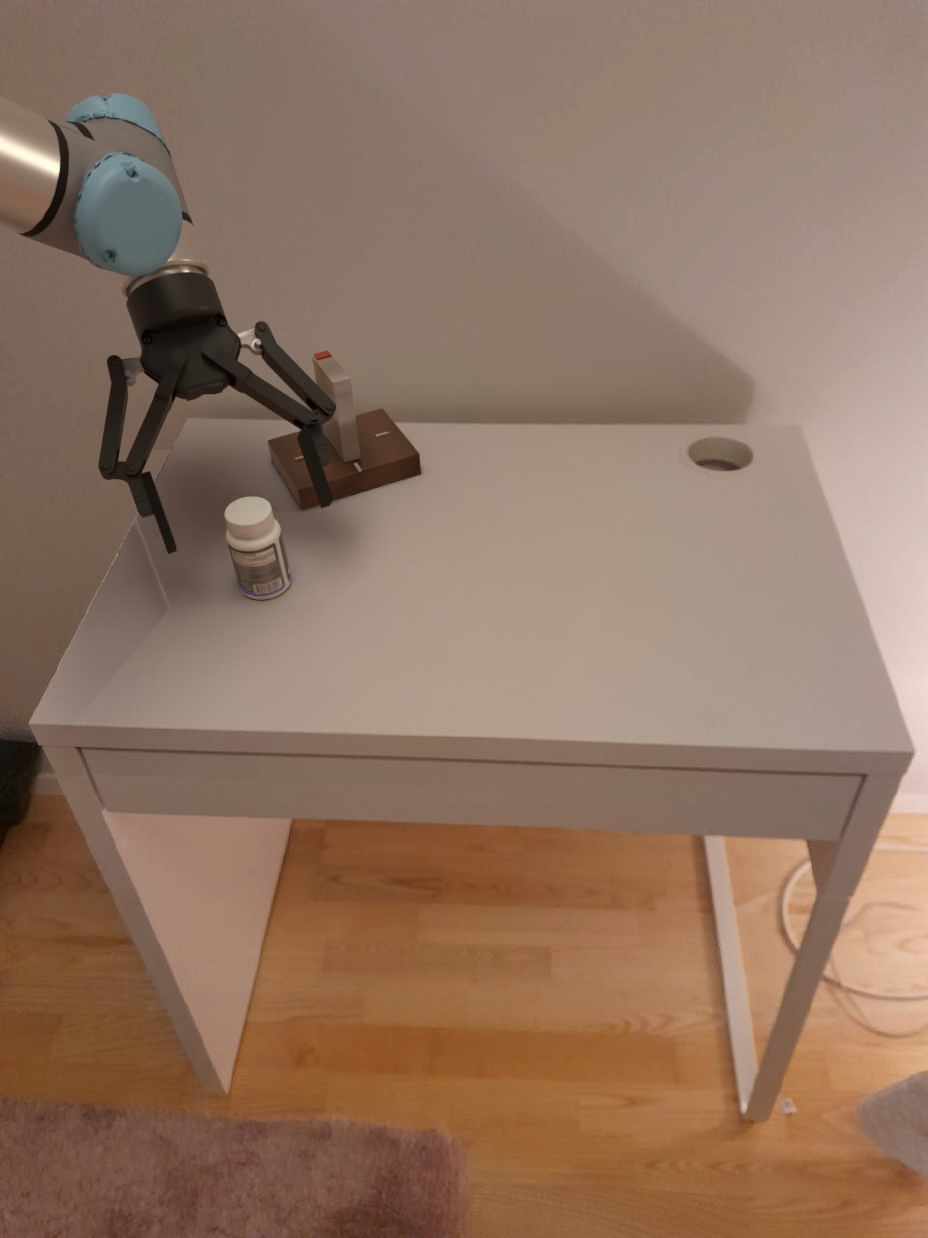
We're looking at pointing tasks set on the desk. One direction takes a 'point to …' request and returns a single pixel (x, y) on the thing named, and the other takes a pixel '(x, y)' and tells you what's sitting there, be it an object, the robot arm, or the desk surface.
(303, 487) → the panel
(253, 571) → the pill bottle
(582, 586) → the desk surface
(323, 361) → the red-topped gray slab
